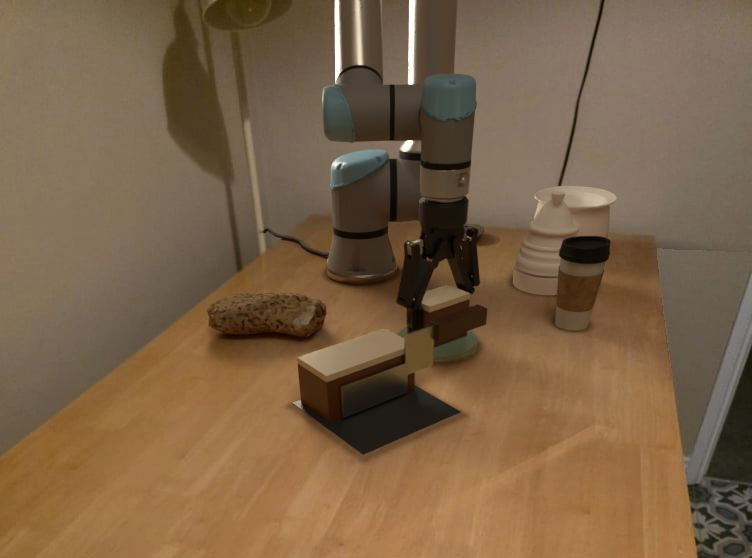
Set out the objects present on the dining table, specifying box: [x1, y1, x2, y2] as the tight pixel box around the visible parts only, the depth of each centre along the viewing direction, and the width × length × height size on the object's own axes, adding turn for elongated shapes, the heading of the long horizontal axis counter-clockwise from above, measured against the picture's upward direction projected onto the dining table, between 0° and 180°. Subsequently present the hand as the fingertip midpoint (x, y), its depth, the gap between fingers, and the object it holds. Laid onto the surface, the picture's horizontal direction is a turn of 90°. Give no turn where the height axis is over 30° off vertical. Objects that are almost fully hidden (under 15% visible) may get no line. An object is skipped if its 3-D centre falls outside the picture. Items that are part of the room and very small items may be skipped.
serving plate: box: [396, 326, 479, 362], centre depth 116 cm, size 14×14×2 cm
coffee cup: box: [554, 236, 612, 332], centre depth 118 cm, size 8×8×15 cm
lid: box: [464, 223, 485, 238], centre depth 162 cm, size 11×10×5 cm
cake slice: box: [406, 284, 471, 348], centre depth 113 cm, size 6×9×8 cm, turn 127°
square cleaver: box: [340, 304, 488, 418], centre depth 99 cm, size 27×2×10 cm, turn 127°
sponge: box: [206, 292, 327, 338], centre depth 120 cm, size 13×8×20 cm
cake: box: [296, 327, 416, 423], centre depth 99 cm, size 16×8×8 cm, turn 127°
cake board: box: [292, 384, 462, 456], centre depth 99 cm, size 18×18×1 cm
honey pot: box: [512, 191, 580, 296], centre depth 133 cm, size 13×13×18 cm
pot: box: [533, 185, 618, 238], centre depth 150 cm, size 22×17×12 cm
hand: (437, 336), depth 115 cm, fingers closed on cake slice, 9 cm apart
